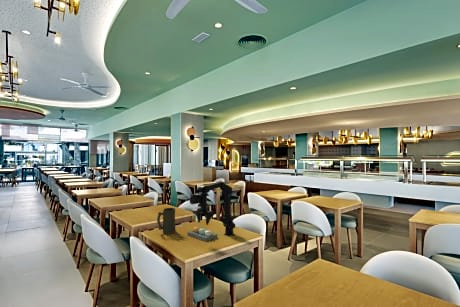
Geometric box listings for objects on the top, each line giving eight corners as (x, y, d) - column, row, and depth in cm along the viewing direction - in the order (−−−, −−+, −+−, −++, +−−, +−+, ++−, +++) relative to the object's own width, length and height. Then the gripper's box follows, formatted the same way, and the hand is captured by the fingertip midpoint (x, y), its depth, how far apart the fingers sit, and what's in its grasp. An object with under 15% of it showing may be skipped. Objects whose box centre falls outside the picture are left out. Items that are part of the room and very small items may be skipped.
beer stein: (172, 229, 218) (171, 206, 217) (178, 232, 210) (177, 208, 209) (156, 234, 207) (154, 210, 206) (162, 237, 199) (160, 212, 199)
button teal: (202, 233, 202) (202, 228, 202) (206, 234, 199) (206, 229, 199) (197, 234, 198) (197, 229, 198) (201, 235, 195) (201, 230, 195)
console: (199, 231, 210) (199, 228, 210) (217, 237, 195) (217, 234, 195) (187, 235, 202) (187, 232, 202) (205, 241, 187) (205, 238, 187)
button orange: (197, 231, 207) (197, 226, 207) (200, 232, 203) (200, 227, 203) (192, 232, 203) (192, 227, 203) (196, 234, 200) (196, 229, 200)
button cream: (208, 235, 197) (208, 229, 197) (212, 236, 194) (212, 231, 194) (203, 236, 194) (203, 231, 194) (207, 237, 190) (207, 232, 190)
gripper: (186, 202, 184) (186, 223, 184) (202, 205, 171) (202, 228, 171) (198, 200, 192) (198, 220, 192) (214, 203, 179) (214, 225, 179)
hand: (203, 223), depth 183 cm, fingers open, 9 cm apart
